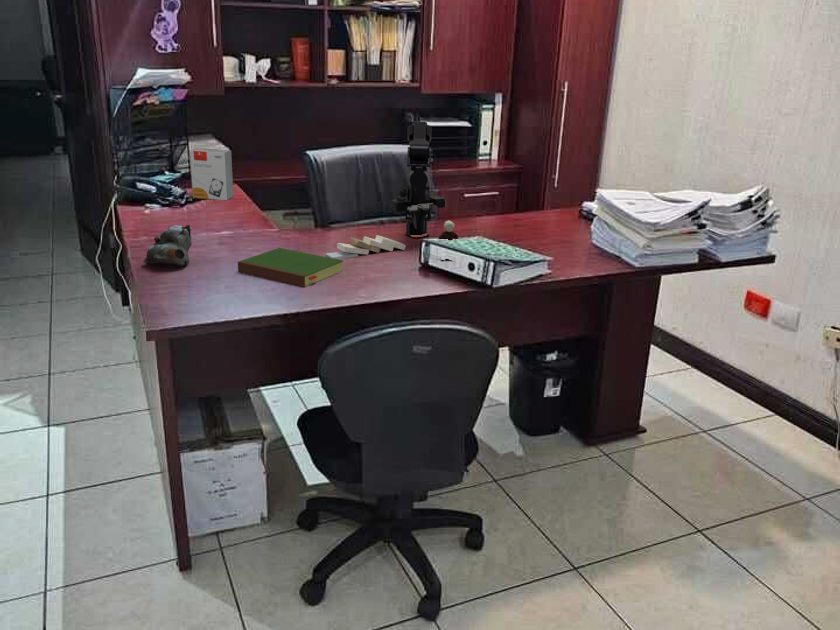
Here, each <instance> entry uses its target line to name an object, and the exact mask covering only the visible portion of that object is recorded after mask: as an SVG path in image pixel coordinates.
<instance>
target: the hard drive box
mask: <svg viewBox="0 0 840 630" xmlns="http://www.w3.org/2000/svg"><path fill="white" fill-rule="evenodd" d="M232 159H233V158H232V150H230V149H220V148H218V149H216V148H215V149H214V148H203V147H196V148H191V149H189V161H190V162H189V163H190V178H191V189H192V190H191V191H192V193H191V194H192V198H193V199H199V200H202V199H203V200H204V199H205V200H217V201H229V200H230V199H232V198H234V182H233V181H234V179H233V178H234V177H233V165H232V164H233V161H232Z"/></svg>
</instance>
